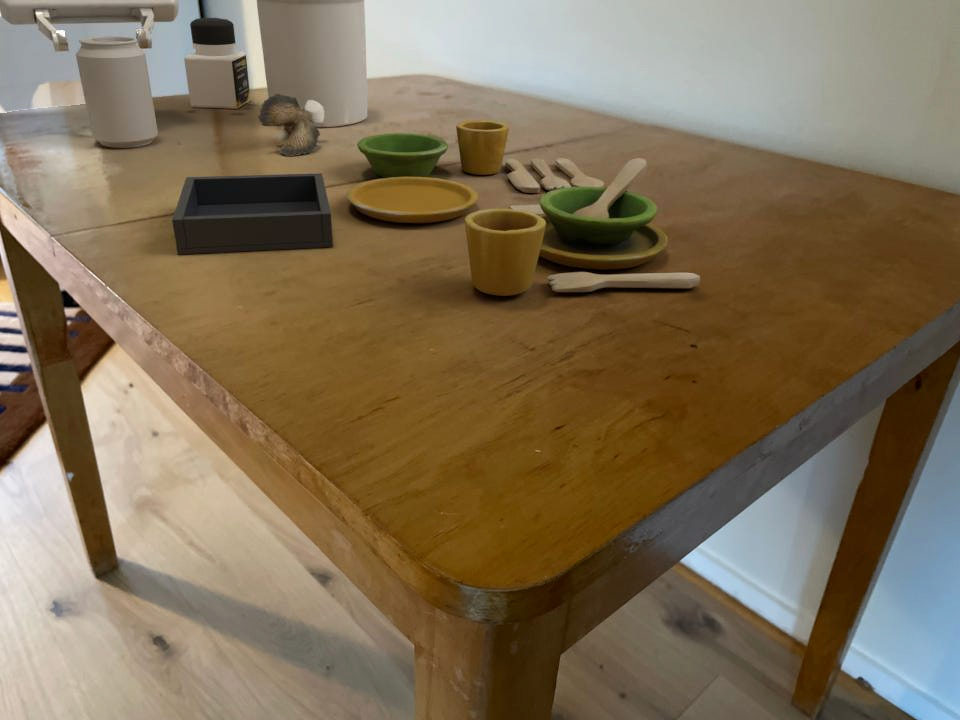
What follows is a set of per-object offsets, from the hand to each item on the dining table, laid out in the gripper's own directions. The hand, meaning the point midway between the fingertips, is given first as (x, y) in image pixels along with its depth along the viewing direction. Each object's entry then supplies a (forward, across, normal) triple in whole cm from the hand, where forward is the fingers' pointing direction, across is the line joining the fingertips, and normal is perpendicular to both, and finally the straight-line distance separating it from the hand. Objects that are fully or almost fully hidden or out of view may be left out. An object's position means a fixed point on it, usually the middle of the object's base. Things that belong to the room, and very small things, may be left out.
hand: (104, 46), depth 95 cm
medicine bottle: (-3, +17, +18) cm, 25 cm away
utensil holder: (+7, +27, +8) cm, 29 cm away
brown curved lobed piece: (+18, +18, -3) cm, 25 cm away
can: (+11, 0, +4) cm, 12 cm away
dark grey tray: (+37, +5, -22) cm, 44 cm away
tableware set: (+42, +26, -27) cm, 56 cm away
